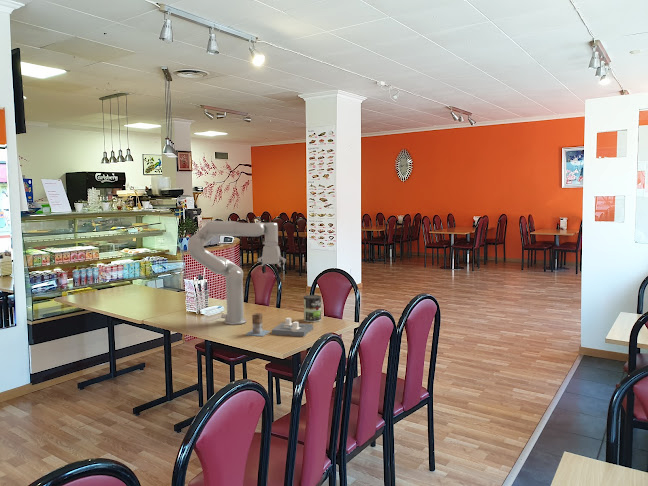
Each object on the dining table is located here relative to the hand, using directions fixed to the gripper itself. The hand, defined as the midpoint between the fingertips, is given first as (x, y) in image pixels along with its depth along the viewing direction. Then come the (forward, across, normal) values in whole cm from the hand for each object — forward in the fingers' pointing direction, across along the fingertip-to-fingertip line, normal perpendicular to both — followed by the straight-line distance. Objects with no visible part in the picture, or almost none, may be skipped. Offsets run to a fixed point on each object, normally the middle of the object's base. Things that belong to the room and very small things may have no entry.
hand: (271, 273), depth 295 cm
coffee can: (+28, +22, +8) cm, 37 cm away
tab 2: (+26, +22, -23) cm, 41 cm away
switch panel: (+28, +19, -19) cm, 39 cm away
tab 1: (+26, +16, -16) cm, 34 cm away
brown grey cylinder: (+28, +2, -27) cm, 39 cm away
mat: (+28, +2, -27) cm, 39 cm away
